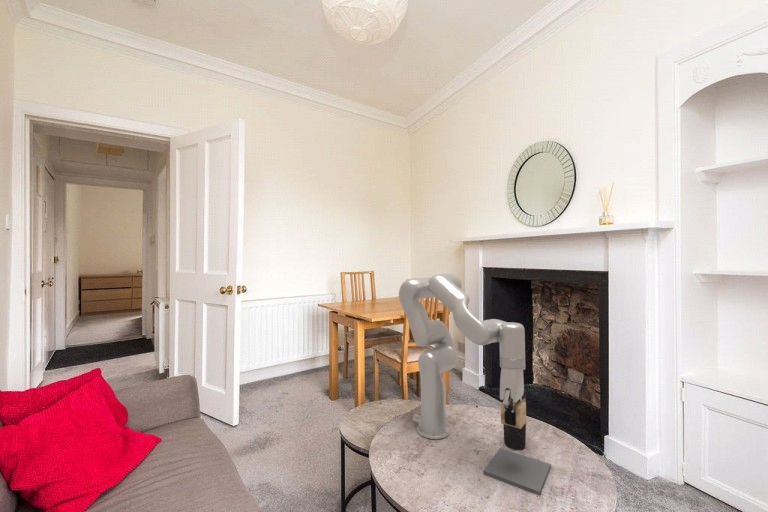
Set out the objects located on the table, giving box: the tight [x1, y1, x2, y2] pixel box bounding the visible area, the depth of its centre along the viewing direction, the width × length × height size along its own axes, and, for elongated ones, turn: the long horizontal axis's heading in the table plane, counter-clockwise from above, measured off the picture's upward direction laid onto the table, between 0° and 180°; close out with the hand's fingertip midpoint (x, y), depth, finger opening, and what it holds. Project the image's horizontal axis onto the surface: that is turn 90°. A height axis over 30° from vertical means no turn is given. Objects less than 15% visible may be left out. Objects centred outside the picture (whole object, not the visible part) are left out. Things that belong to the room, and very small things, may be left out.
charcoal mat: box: [483, 447, 552, 496], centre depth 105 cm, size 16×16×1 cm
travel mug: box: [502, 388, 527, 451], centre depth 120 cm, size 8×8×20 cm
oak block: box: [500, 399, 527, 429], centre depth 105 cm, size 6×6×6 cm
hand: (513, 419), depth 105 cm, fingers closed on oak block, 6 cm apart
